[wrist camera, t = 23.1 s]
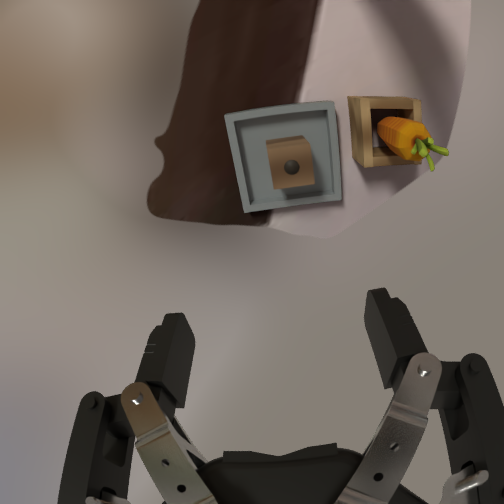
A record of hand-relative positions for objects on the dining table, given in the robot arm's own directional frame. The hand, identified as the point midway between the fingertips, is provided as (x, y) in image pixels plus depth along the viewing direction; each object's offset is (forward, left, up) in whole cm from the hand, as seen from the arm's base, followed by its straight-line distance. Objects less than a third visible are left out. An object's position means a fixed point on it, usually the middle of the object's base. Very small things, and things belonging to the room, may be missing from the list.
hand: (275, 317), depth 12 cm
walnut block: (+1, +3, -30) cm, 30 cm away
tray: (+1, +3, -30) cm, 30 cm away
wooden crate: (-2, +17, -30) cm, 35 cm away
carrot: (-2, +17, -30) cm, 35 cm away
